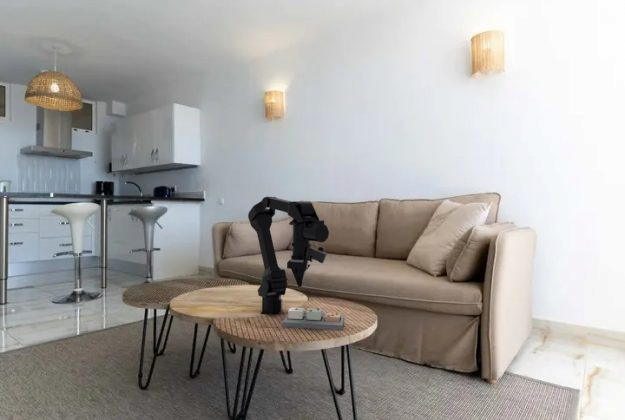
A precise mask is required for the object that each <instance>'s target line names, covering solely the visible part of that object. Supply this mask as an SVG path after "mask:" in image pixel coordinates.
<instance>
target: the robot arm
mask: <svg viewBox="0 0 625 420" xmlns="http://www.w3.org/2000/svg"><path fill="white" fill-rule="evenodd" d="M276 211H280V212H283V213H287V215H288V216H289V217H290V218H292V220H291V221H289V223H288V224H289V225H290V226H292V242H291V245H290V246H291V247H292V251H291V253H292V254H291V256H290V259H288V261H286V262H287V263H286V269H288V270H291V272H292V275H293V277H294V279H295V282H296V284H297V287H299V288H301V287H302V286H303V283H304V279H305V275H306V271H307V270H308V269H309V268H310V267H311V264H309V262H310V263H313V261H317V262H318V263H319V264H324V262H325V260H326V257H327V254H328V253H327V252H326V251H325V247H323V246H319V247H317V248H316V247H313V246H312V243H311V242H316V243H317V242H318V243H324V242H326V241H327V239H328V238H329V234H330V231H329V228H328V226H327V225H326V224H325V220H321V219H320V218H319V215H318V214H317V211H316V209H315V208H314V205H313V203H312V202H311V201H295V200H294V201H291V200H287V199H282V198H278V197H276V196H265V197H263V198H262V200H260V201H259V202H257V203H256V204H254V205H253V206H252V207H251V209H250V210H249V211H248V214H247V217H248V221H249V224H250V226H251V228H253V230H254V231H255V232H256V235H257V240H258V244H259V249H260V253H261V258H262V263H263V267H264V270H263V275H262V277H261V279H262V281H261V282H262V283H261V284H260V286H259V288H258V289H257V295H258V296H259V297H261V298H262V300H261V311H260V315H276V316H277V315H278V316H279V315H280V313H281V312H282V311H283V298H282V296H285V295H286V291H287V287H288V278H287V273H286V270H285V269H284V268H282V269H281V267H279V264H278V260H277V254H276V251H275V250H276V249H275V247H274V246H275V245H274V242H273V238H272V233H271V227H272V224H273V218H274V216H275V215H276Z"/></svg>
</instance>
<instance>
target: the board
mask: <svg viewBox="0 0 625 420" xmlns="http://www.w3.org/2000/svg"><path fill="white" fill-rule="evenodd" d="M325 316H326V313H322V318H321V320H307V312H304V317H303V318H302V319H288V314H287V315H286V316H285V318H284V319H283V320H282V321H281V327H282V328H292V329H293V328H295V329H314V330H333V331H335V330H336V331H343V328H344V322H345V314H340V322H327V321H325Z"/></svg>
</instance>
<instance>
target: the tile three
mask: <svg viewBox="0 0 625 420" xmlns="http://www.w3.org/2000/svg"><path fill="white" fill-rule="evenodd" d="M325 314H326V316H325V321H327V322H340V315H341V313H330V312H328V313H325Z"/></svg>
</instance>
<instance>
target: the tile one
mask: <svg viewBox="0 0 625 420" xmlns="http://www.w3.org/2000/svg"><path fill="white" fill-rule="evenodd" d="M304 313H305V308H304V307H293V306H292V307H289V309H288V314H287V315H288V319H302V318H303V317H304Z"/></svg>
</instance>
